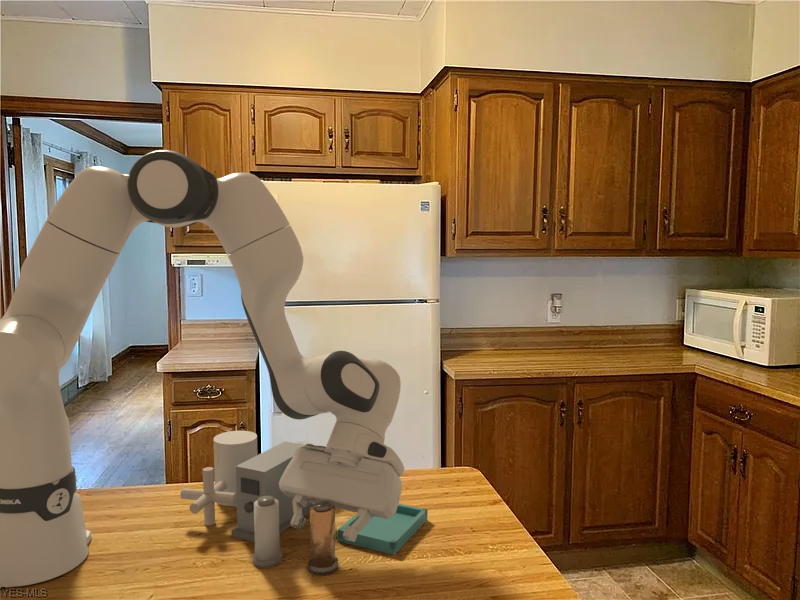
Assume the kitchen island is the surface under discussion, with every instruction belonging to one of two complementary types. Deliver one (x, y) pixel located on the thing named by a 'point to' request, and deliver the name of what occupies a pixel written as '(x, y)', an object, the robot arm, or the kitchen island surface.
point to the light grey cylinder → (232, 456)
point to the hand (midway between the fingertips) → (321, 533)
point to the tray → (387, 529)
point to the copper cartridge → (322, 539)
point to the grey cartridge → (266, 533)
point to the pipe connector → (208, 496)
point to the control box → (264, 488)
